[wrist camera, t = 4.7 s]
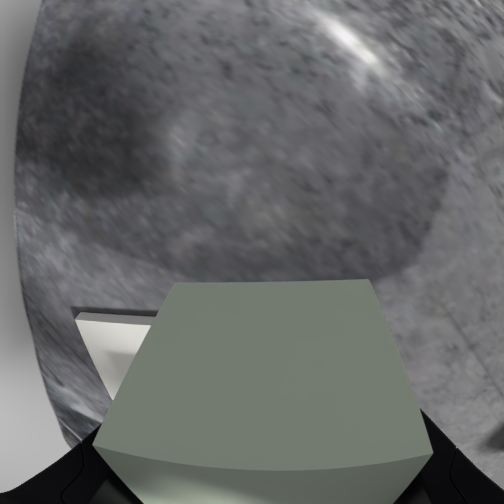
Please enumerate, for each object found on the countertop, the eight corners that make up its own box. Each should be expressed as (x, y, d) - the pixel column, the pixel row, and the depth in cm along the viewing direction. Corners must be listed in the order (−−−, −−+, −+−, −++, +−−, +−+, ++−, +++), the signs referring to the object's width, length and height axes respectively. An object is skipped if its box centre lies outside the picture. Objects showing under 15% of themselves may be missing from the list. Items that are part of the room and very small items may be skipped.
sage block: (368, 279, 8) (433, 453, 3) (346, 403, 10) (362, 535, 5) (174, 282, 8) (92, 444, 4) (203, 403, 10) (172, 530, 6)
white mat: (326, 317, 20) (328, 327, 19) (311, 444, 27) (311, 453, 26) (80, 312, 22) (74, 320, 21) (137, 431, 29) (134, 439, 28)
